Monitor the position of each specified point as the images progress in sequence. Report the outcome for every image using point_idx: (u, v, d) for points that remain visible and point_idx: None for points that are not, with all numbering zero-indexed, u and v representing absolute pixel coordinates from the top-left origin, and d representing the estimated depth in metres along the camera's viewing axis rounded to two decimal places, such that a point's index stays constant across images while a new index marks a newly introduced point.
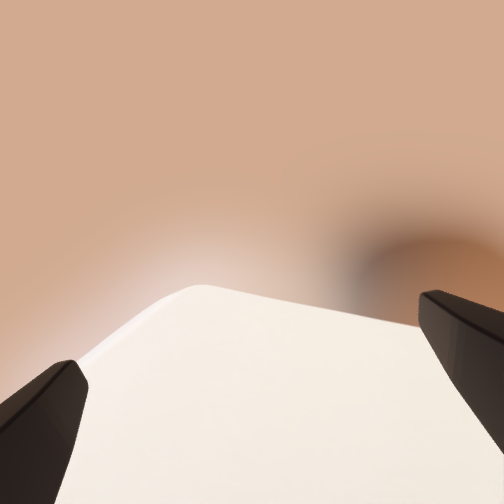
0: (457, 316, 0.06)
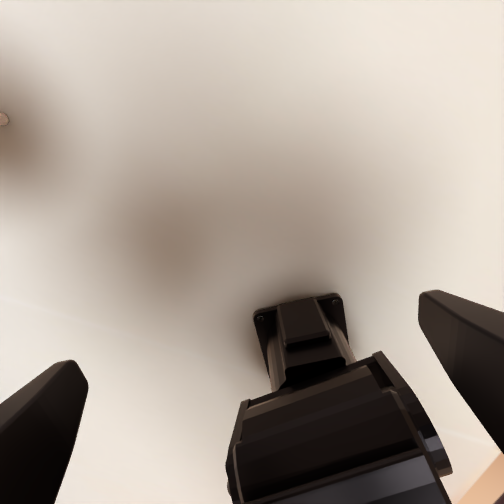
0: (457, 316, 0.06)
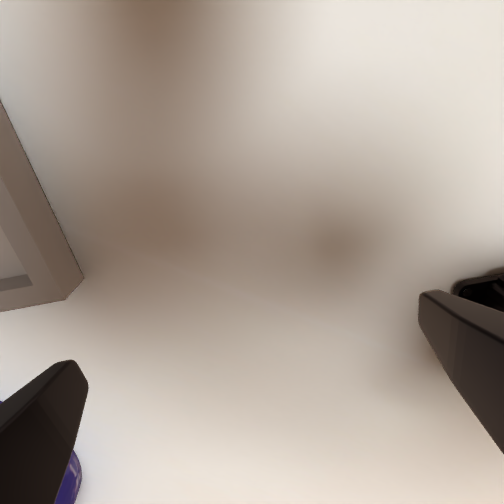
0: (457, 316, 0.06)
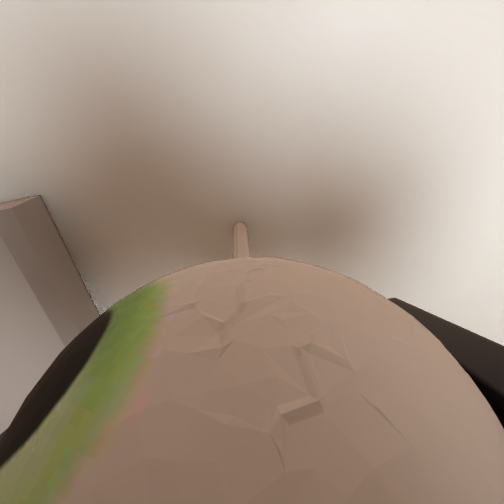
0: None
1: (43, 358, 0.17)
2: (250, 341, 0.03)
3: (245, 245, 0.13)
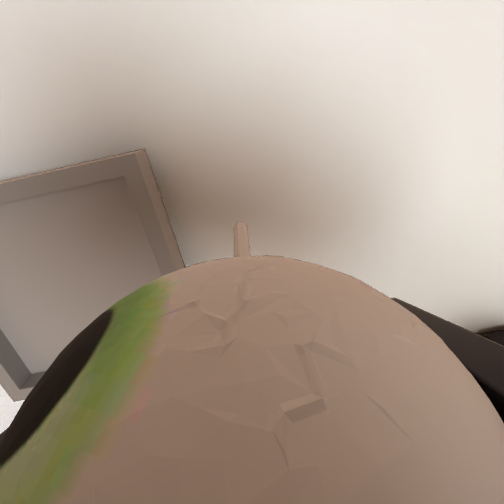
0: None
1: (133, 287, 0.22)
2: (253, 340, 0.03)
3: (246, 244, 0.13)
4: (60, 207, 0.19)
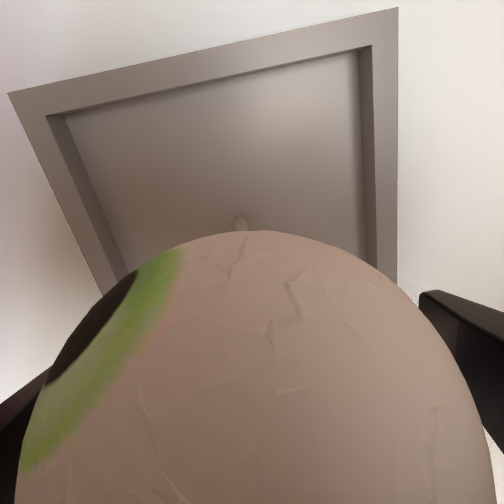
0: (457, 316, 0.06)
1: (313, 226, 0.17)
2: (251, 279, 0.04)
3: None
4: (249, 104, 0.14)
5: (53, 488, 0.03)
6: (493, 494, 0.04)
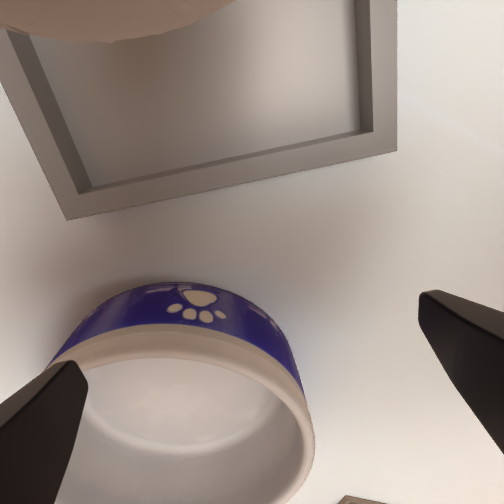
0: (457, 316, 0.06)
1: None
2: None
3: None
4: None
5: None
6: None
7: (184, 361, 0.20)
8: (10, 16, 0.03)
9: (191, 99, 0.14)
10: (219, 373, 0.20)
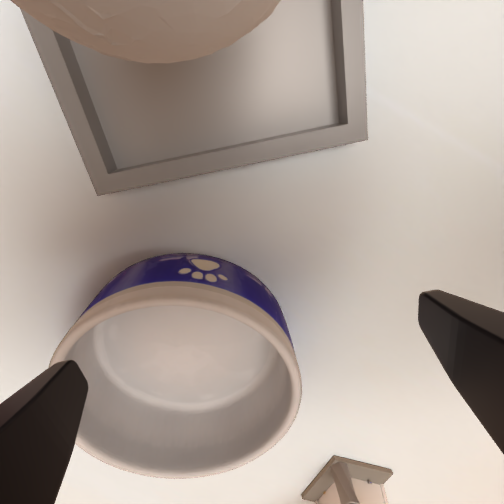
0: (457, 316, 0.06)
1: (276, 16, 0.16)
2: None
3: None
4: None
5: None
6: None
7: (191, 324, 0.23)
8: (131, 55, 0.06)
9: (200, 97, 0.17)
10: (221, 335, 0.23)
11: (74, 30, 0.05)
